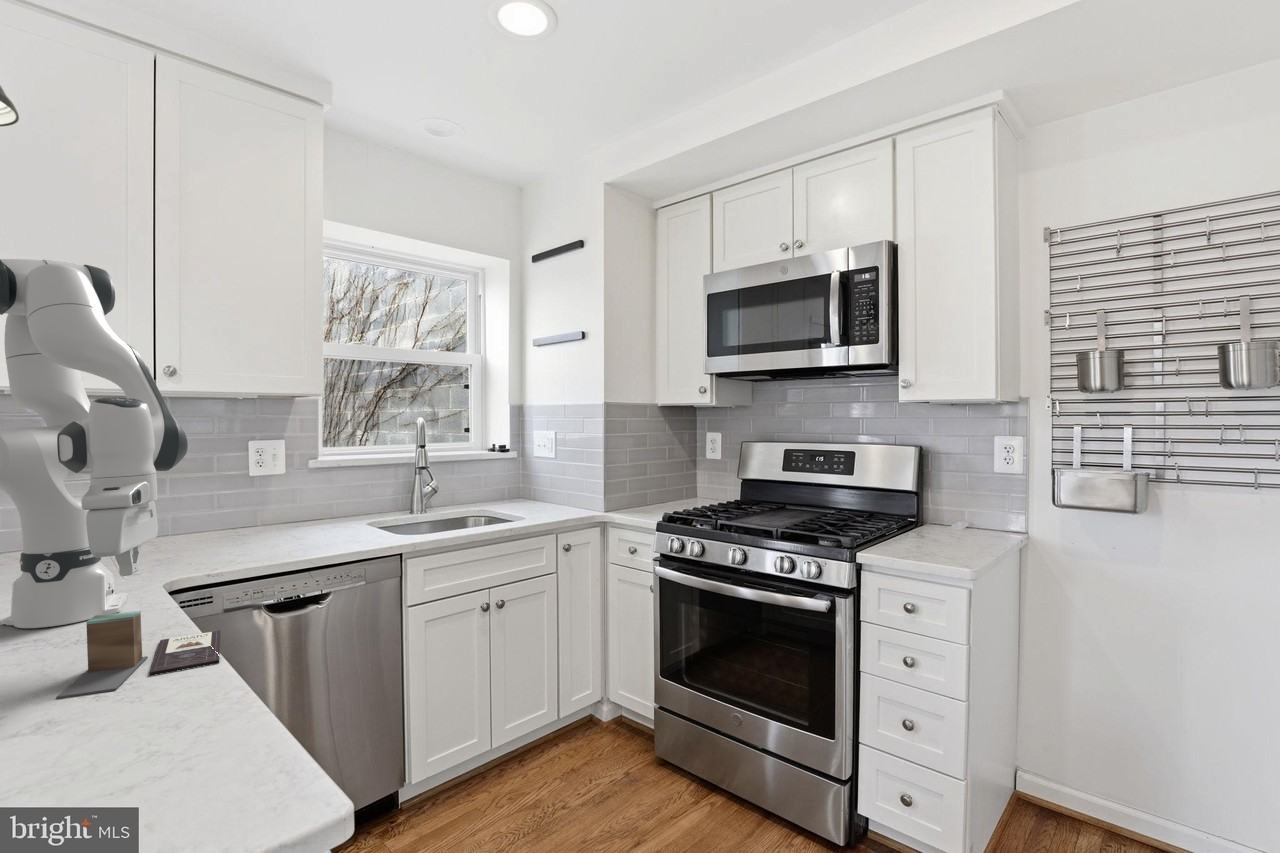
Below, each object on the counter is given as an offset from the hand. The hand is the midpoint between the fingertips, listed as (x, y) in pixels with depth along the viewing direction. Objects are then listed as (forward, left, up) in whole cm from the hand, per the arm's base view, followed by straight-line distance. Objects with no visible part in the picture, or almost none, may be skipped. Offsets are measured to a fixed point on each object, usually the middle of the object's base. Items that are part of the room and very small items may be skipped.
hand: (129, 574), depth 110 cm
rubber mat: (+11, 0, -14) cm, 17 cm away
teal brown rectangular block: (+6, 0, -13) cm, 15 cm away
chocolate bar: (+3, +9, -14) cm, 17 cm away
